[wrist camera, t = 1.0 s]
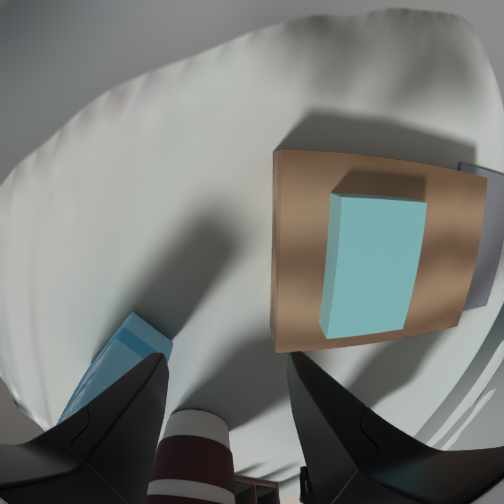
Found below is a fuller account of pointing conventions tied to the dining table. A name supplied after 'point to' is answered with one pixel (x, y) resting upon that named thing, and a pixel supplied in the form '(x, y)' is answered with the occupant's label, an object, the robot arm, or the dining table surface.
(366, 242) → the teal foam pad
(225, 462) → the coffee cup
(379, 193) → the brown flat block
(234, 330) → the dining table surface
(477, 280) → the mat
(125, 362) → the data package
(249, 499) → the letter holder
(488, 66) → the dining table surface
